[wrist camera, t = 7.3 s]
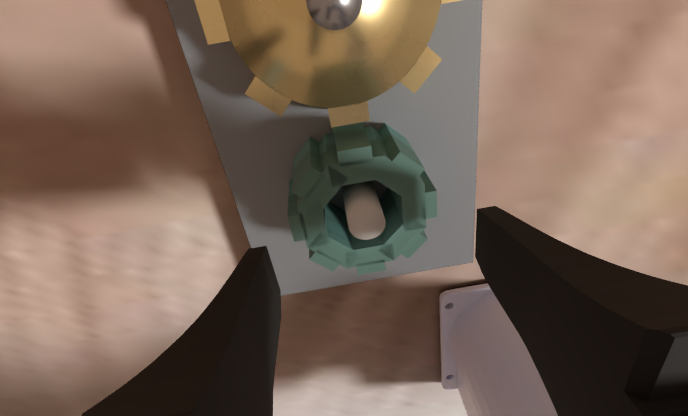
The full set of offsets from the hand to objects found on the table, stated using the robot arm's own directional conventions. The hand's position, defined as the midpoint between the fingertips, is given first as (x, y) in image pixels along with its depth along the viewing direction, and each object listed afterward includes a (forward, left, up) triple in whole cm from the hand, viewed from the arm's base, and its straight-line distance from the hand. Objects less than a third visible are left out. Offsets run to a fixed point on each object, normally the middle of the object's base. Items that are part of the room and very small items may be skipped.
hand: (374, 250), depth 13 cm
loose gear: (0, 0, -5) cm, 5 cm away
